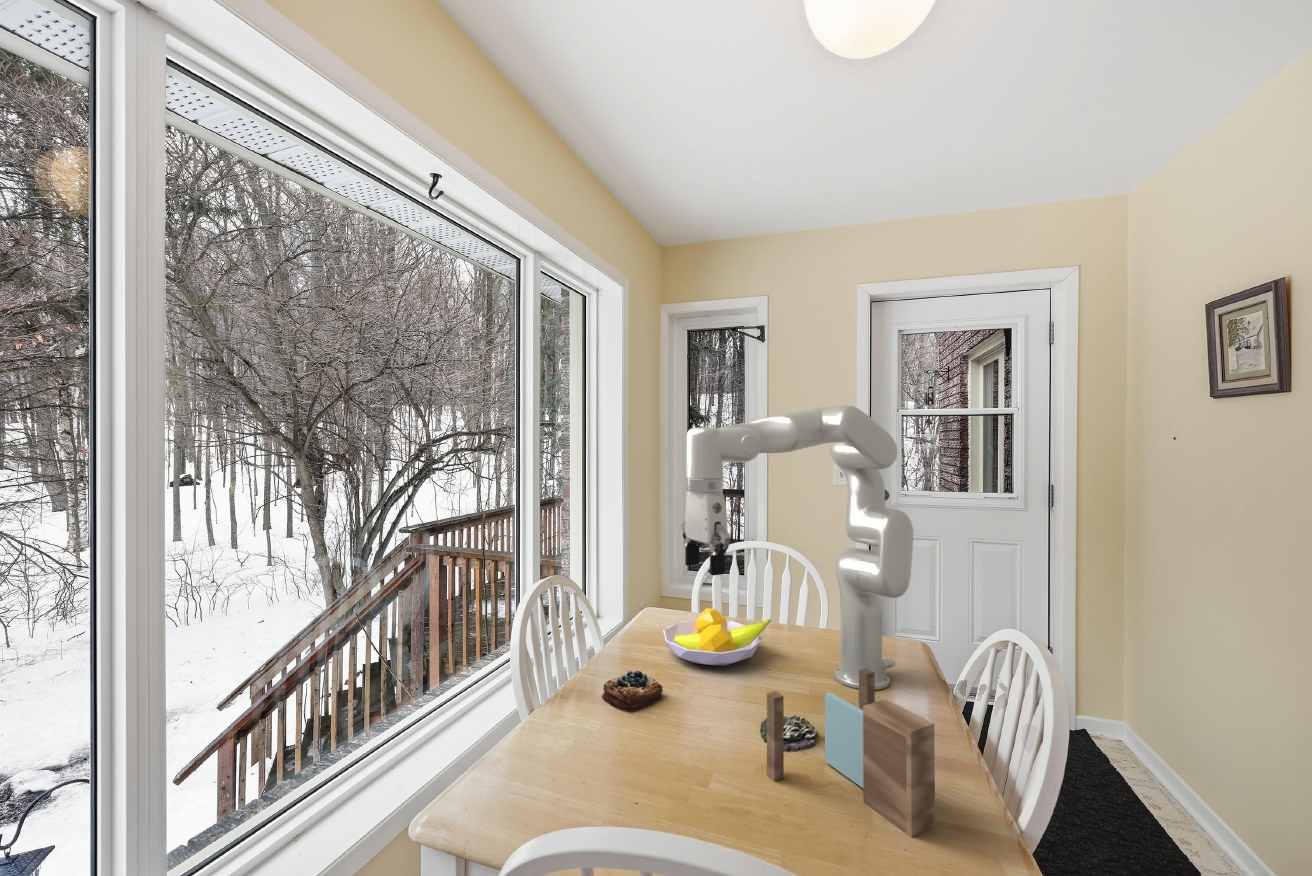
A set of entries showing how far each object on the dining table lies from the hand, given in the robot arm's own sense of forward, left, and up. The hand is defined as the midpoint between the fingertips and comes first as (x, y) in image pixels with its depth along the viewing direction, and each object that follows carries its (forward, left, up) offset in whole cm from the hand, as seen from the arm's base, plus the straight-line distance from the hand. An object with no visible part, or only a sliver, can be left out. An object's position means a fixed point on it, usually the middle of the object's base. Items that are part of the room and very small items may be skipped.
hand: (704, 569), depth 112 cm
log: (-12, +12, -32) cm, 36 cm away
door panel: (-12, +28, -31) cm, 43 cm away
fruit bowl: (-21, -28, -32) cm, 47 cm away
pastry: (+9, -16, -32) cm, 37 cm away
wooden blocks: (-12, +31, -31) cm, 46 cm away
